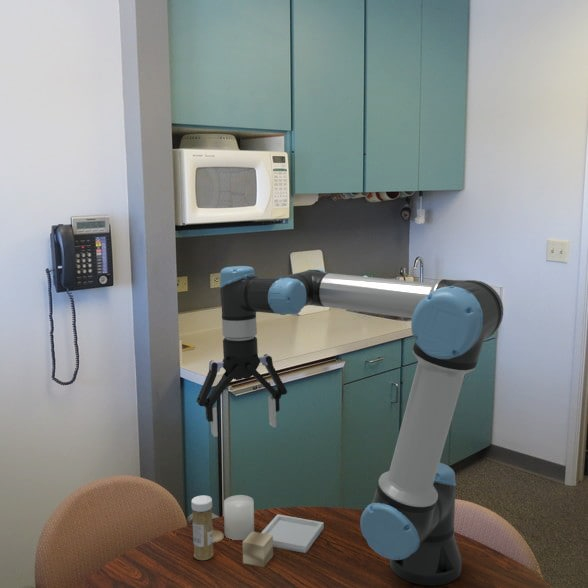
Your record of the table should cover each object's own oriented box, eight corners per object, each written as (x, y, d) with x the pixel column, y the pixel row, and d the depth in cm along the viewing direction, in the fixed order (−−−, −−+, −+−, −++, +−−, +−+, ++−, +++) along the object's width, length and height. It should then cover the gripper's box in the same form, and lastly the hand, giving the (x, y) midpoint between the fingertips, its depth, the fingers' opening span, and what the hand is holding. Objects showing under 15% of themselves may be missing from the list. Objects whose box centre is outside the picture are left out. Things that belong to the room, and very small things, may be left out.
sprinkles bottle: (217, 557, 154) (215, 500, 152) (198, 563, 151) (196, 505, 149) (208, 548, 157) (206, 492, 155) (189, 554, 155) (187, 497, 153)
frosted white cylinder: (246, 543, 160) (245, 510, 158) (219, 537, 162) (218, 505, 161) (261, 526, 167) (260, 495, 166) (235, 521, 170) (234, 491, 169)
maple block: (273, 556, 154) (272, 535, 153) (263, 567, 149) (263, 546, 149) (252, 552, 156) (252, 531, 155) (243, 563, 151) (242, 541, 150)
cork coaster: (227, 535, 164) (227, 532, 164) (217, 545, 159) (217, 542, 159) (208, 532, 166) (208, 528, 166) (198, 541, 161) (198, 538, 161)
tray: (323, 528, 166) (323, 522, 166) (305, 553, 155) (305, 546, 155) (277, 520, 170) (277, 514, 170) (257, 543, 159) (257, 537, 159)
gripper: (287, 328, 159) (290, 417, 162) (179, 339, 151) (185, 433, 154) (299, 334, 152) (302, 426, 155) (187, 346, 144) (192, 444, 147)
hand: (244, 430), depth 154 cm, fingers open, 13 cm apart
